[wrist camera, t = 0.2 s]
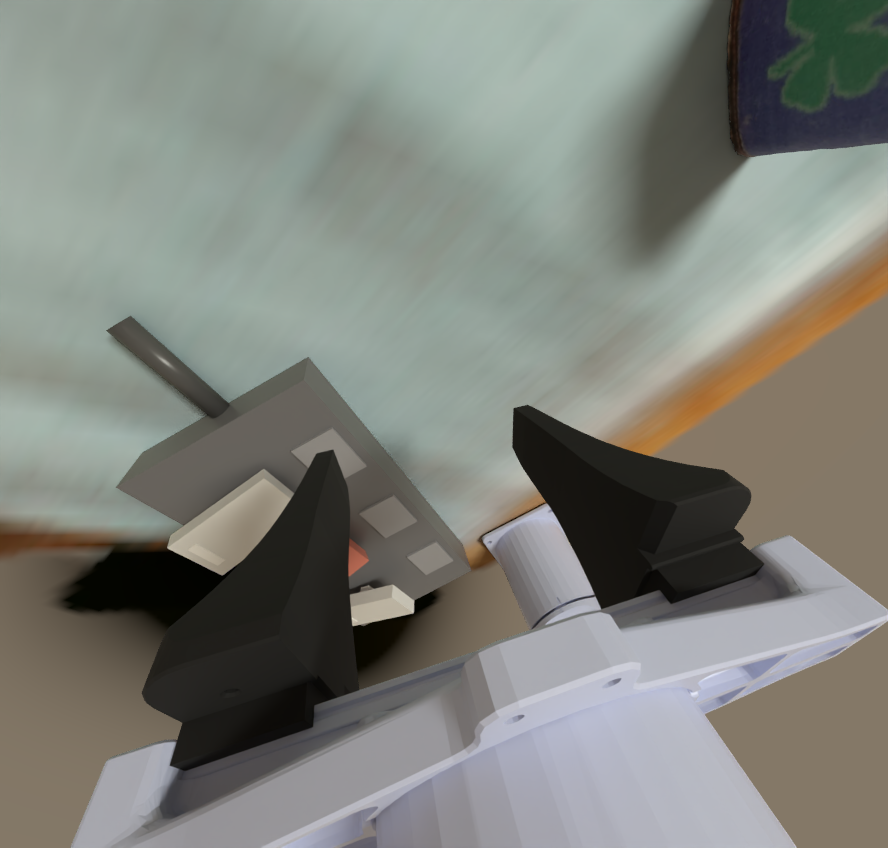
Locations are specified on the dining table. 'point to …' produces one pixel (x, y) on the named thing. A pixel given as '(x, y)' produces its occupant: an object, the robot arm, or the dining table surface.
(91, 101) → the dining table surface
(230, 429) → the power strip
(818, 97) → the dark blue box
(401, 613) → the rocker
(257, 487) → the rocker
